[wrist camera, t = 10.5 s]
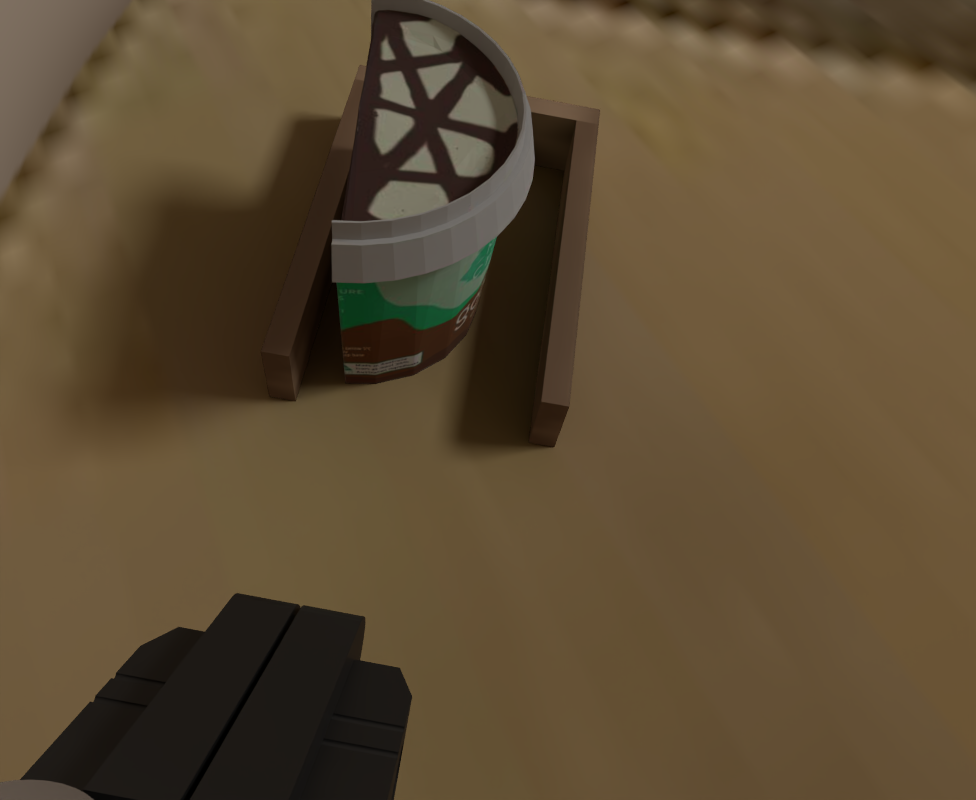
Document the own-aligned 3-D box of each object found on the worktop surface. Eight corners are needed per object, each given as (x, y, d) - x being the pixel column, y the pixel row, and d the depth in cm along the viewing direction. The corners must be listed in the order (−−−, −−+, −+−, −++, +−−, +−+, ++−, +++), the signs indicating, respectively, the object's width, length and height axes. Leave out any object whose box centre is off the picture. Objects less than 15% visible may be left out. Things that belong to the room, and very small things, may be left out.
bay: (586, 159, 42) (600, 109, 39) (554, 446, 33) (569, 406, 31) (360, 118, 41) (359, 64, 39) (269, 396, 33) (260, 351, 30)
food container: (501, 429, 33) (545, 257, 25) (340, 416, 33) (328, 236, 24) (507, 197, 40) (544, -3, 31) (373, 183, 39) (373, -24, 31)
